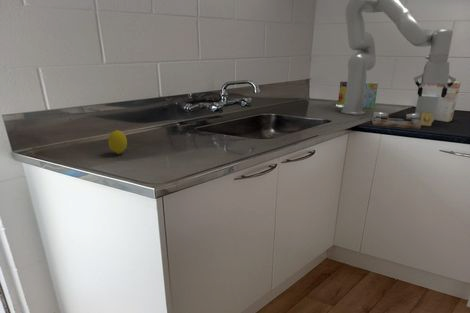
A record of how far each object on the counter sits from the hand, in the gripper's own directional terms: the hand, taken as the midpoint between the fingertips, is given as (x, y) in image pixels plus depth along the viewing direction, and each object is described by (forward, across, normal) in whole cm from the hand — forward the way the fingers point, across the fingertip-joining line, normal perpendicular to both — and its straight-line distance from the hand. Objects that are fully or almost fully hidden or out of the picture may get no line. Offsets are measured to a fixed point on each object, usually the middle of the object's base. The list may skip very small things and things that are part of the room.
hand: (431, 96), depth 158 cm
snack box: (+13, -30, +41) cm, 52 cm away
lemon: (+12, -109, -88) cm, 140 cm away
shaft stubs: (+13, -15, -6) cm, 21 cm away
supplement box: (+14, +1, +11) cm, 18 cm away
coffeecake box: (+13, +7, +16) cm, 22 cm away
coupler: (+13, -1, 0) cm, 13 cm away
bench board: (+13, -15, -6) cm, 21 cm away
